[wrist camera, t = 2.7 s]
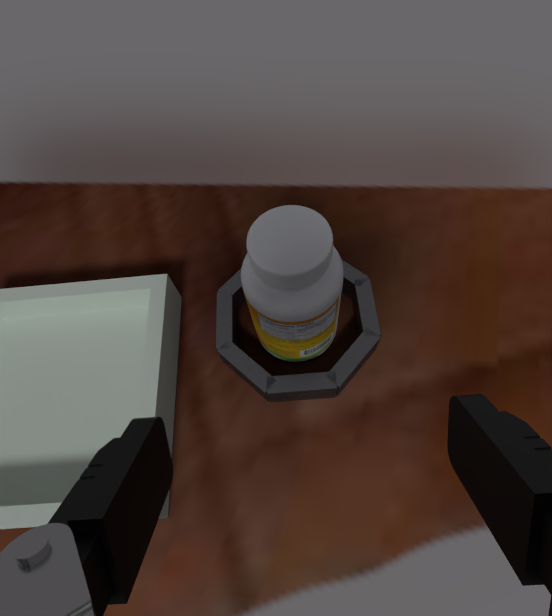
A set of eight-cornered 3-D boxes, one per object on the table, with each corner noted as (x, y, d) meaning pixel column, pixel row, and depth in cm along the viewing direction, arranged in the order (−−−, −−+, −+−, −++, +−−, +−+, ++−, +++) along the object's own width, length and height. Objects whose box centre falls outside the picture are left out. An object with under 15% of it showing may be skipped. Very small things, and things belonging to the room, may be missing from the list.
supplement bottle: (270, 284, 28) (252, 183, 19) (344, 301, 27) (360, 203, 18) (245, 352, 26) (212, 273, 17) (325, 374, 25) (332, 301, 16)
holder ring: (222, 405, 24) (215, 397, 23) (223, 270, 29) (217, 254, 27) (384, 393, 24) (390, 384, 22) (359, 257, 28) (362, 240, 27)
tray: (-74, 533, 22) (-131, 537, 19) (-6, 314, 29) (-41, 292, 26) (167, 518, 22) (146, 519, 19) (181, 297, 28) (167, 273, 25)
